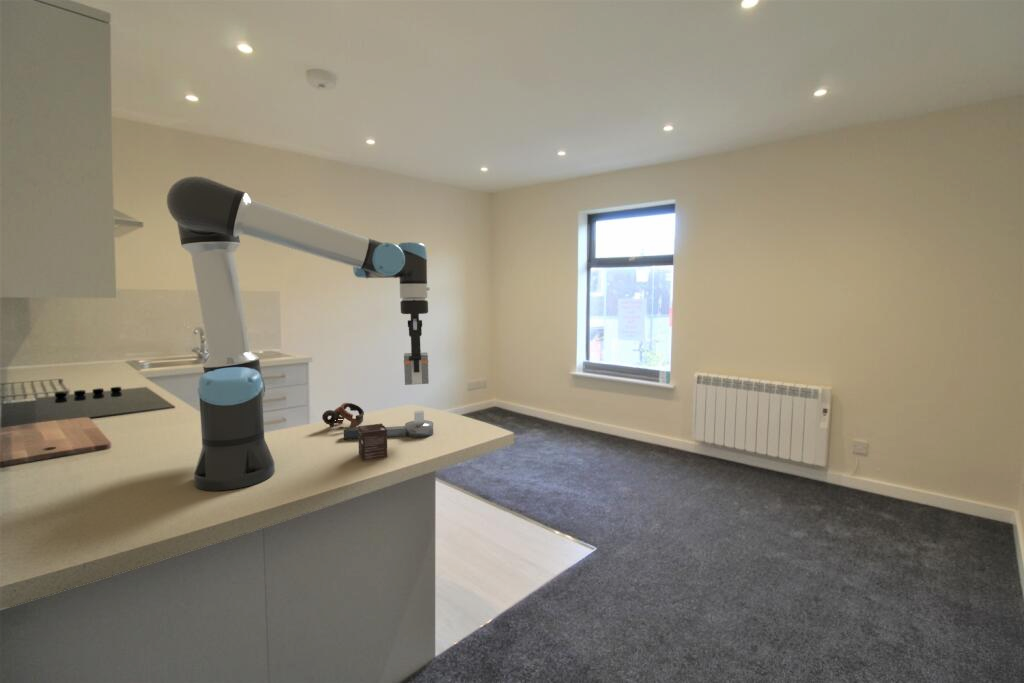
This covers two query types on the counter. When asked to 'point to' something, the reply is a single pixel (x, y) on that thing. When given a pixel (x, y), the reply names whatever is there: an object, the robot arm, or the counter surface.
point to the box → (372, 442)
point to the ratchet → (401, 429)
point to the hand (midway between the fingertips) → (416, 381)
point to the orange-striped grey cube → (409, 373)
